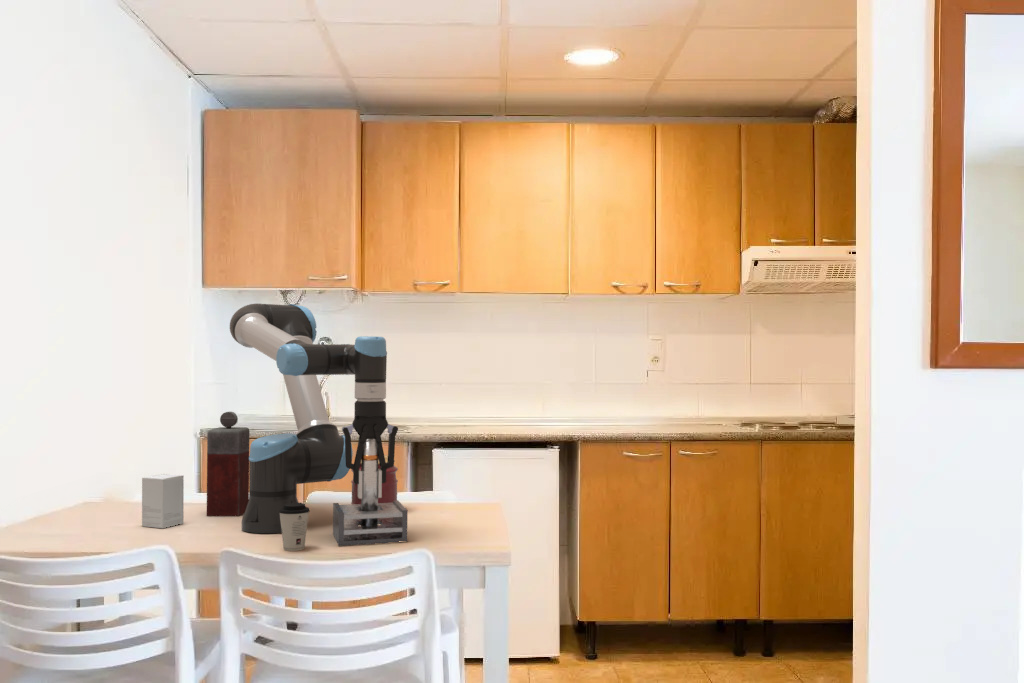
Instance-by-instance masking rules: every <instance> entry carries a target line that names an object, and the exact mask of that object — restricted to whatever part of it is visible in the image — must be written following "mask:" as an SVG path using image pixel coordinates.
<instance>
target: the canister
mask: <svg viewBox="0 0 1024 683" xmlns="http://www.w3.org/2000/svg"><path fill="white" fill-rule="evenodd" d="M384 457H385V462H386V463H387V462H388V454H387V455H385V454H384ZM395 462H396V460H395V459H394V463H395ZM361 464H362V460H361V463H360V468H359V470H361ZM378 469H380V463H379V459H378ZM350 470H351V472H352V473H353V470H352V469H350ZM398 470H399V468H398V467H397V466H396V465H394V466H393V467H390V468H388V469H387V470H386V482H385V483H382V498H378V503H393V501H395V500H398V481H399V480H398V479H397V471H398ZM350 483H351V501H350V504H361V498H360V499H359V498H358V484H354V482H353V479H352V480H351V481H350ZM378 511H380V510H378Z"/></svg>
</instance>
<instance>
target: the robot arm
mask: <svg viewBox="0 0 1024 683" xmlns="http://www.w3.org/2000/svg"><path fill="white" fill-rule="evenodd" d="M229 332H230V334H231V337H232V338H233V339H234V341H235V342H237V343H238V344H239V345H241V346H243V347H244V348H249V349H250V348H251V349H253V348H254V349H255V350H256V351H257V350H258V351H259V352H260V353H262V354H264V355H265V356H267V357H269V358H270V359H272V360H273V361H275V362H276V366H277V369H278V371H279V373H280V374H282V376H283V379H284V380H283V381H284V383H285V386H286V392H287V395H288V399H289V402H290V406H291V411H292V414H293V417H294V421H295V425H296V429H297V432H296V433H278V434H276V433H275V434H270V435H265V436H261V437H258V438H255V439H254V440H253V441H252V442H251V444H250V445H249V501H248V504H247V507H246V510H245V513H244V514H243V515H242V520H241V530H242V531H244V532H245V533H253V534H279V533H280V534H282V530H281V521H280V513H279V510H280V508H283V506H284V504H288V503H300V502H299V500H298V497H297V496H298V494H297V490H298V489H297V486H298V485H299V484H314V483H322V482H328V483H329V482H331V481H337V480H342V479H343V478H345V477H346V475H348V473H349V471H350V470H351V469H352V470H353V472H352V474H353V475H352V480H353V482H354V484H358V498H359V499H360V498H362V470H359V468H360V463H361V459H362V454H363V449H364V443H365V441H366V439H369V438H372V439H376V441H377V447H378V454H379V463H380V469H378V498H382V483H385V482H386V470H387V469H388V468H390V467H393V466H395V462H394V460H395V450H396V435H397V433H398V430H399V427H398V426H396V425H393V424H390V423H389V421H388V419H387V402H386V401H385V399H387V362H388V361H387V356H388V352H387V339H386V338H385V337H383V336H373V335H371V336H367V335H366V336H362V335H361V336H357V337H356V338H355V341H354V344H350V343H347V344H345V343H341V344H335V343H334V344H332V343H331V344H330V343H329V344H327V343H326V344H325V343H323V344H322V343H320V344H316V343H315V340H316V338H317V337H316V336H317V322H316V319H315V316H314V314H313V313H312V311H311V310H310V309H309V308H308V307H306V306H303V305H296V304H294V303H291V304H276V303H275V304H274V303H272V304H271V303H249V304H247V305H244V306H242V307H241V308H239V309H238V310H236V311H235V312H234V313H233V315H232V316H231V319H230V321H229ZM322 375H323V376H332V375H333V376H335V375H336V376H337V375H338V376H339V375H341V376H344V375H346V376H349V375H354V399H356V400H355V402H354V418H353V421H352V423H351V424H349V425H347V426H343V427H341V431H342V433H343V434H341V435H340V432H339V430H338V426H337V425H336V424H334V423H332V422H330V418H329V415H328V411H327V408H326V404H325V402H324V398H323V395H322V391H321V387H320V384H319V380H318V377H317V376H322ZM386 429H387V433H388V444H387V456H388V462H387V463H386V462H385V457H384V455H385V453H384V447H383V443H382V442H383V441H382V440H383V439H382V434H383V433H385V431H386ZM353 430H355V432H356V433H357V435H358V436H359V437H358V443H357V446H356V451H355V457H354V460H353V454H354V453H353V451H354V450H353V446H352V437H351V435H352V434H353Z"/></svg>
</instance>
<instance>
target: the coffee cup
mask: <svg viewBox="0 0 1024 683" xmlns="http://www.w3.org/2000/svg"><path fill="white" fill-rule="evenodd" d="M310 511H311V510H310V508H309V507H308V506H306V504H305V503H303V502H299V503H288V504H284V506H283V508H280V510H279V513H280V521H281V530H282V533H281V538H282V546H283V550H284V551H288V552H297V551H301V550H304V549H305V543H306V538H307V537H306V536H307V528H308V522H309V513H310Z"/></svg>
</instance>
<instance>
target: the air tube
mask: <svg viewBox="0 0 1024 683" xmlns="http://www.w3.org/2000/svg"><path fill="white" fill-rule="evenodd" d="M378 459H379V454H378V447H377V441H376V439H372V438H369V439H366V441H365V443H364V449H363V454H362V459H361V460H362V464H361V470H362V498H361V511H378ZM374 525H379V524H378V518H368V519H361V525H360V526H374Z"/></svg>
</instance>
